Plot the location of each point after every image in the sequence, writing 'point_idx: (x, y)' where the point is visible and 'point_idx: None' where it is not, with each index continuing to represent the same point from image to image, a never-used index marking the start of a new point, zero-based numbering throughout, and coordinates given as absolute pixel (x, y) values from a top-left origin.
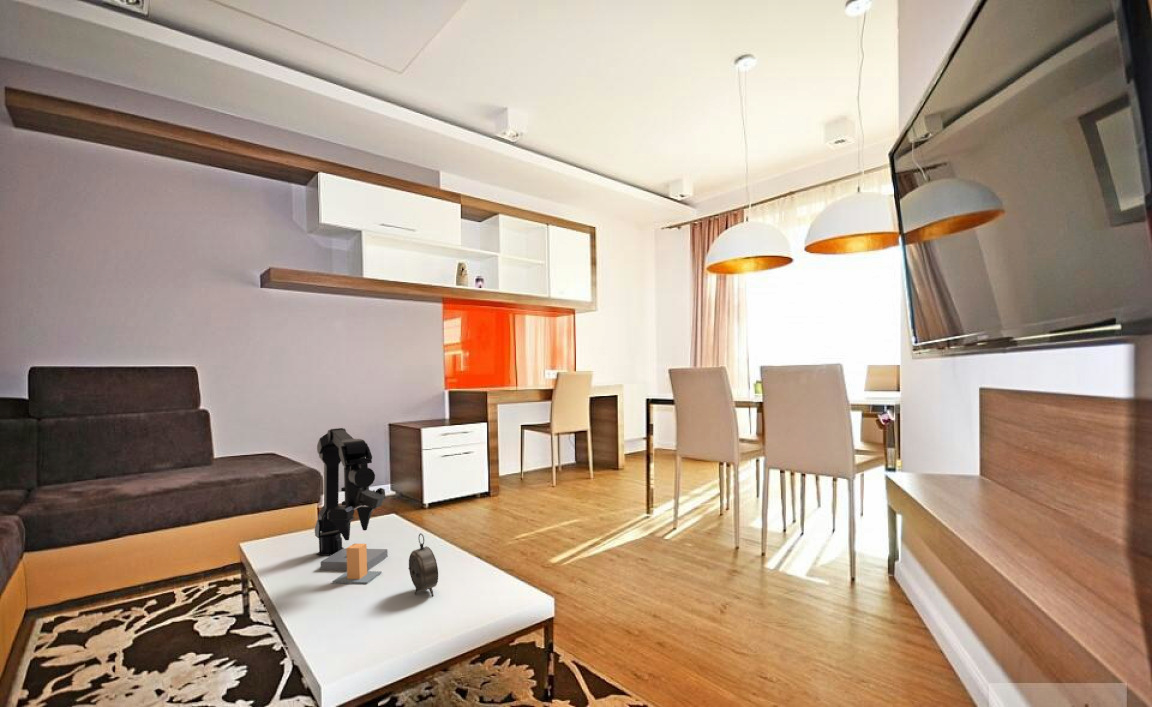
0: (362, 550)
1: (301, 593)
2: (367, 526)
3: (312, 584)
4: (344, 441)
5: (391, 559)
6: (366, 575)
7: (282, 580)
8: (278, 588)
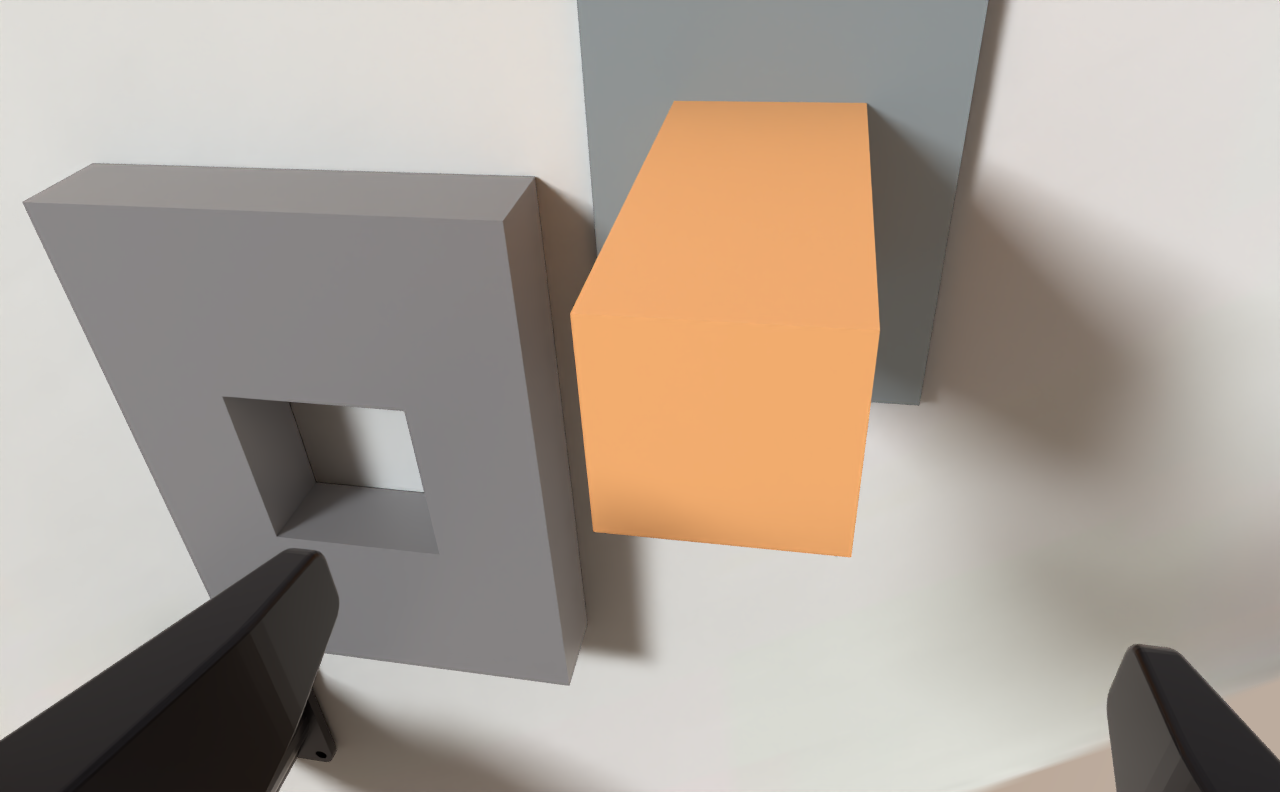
0: (739, 276)
1: (1174, 548)
2: (228, 596)
3: (937, 551)
4: None
5: (133, 59)
6: (736, 75)
7: (829, 768)
8: (1002, 740)
